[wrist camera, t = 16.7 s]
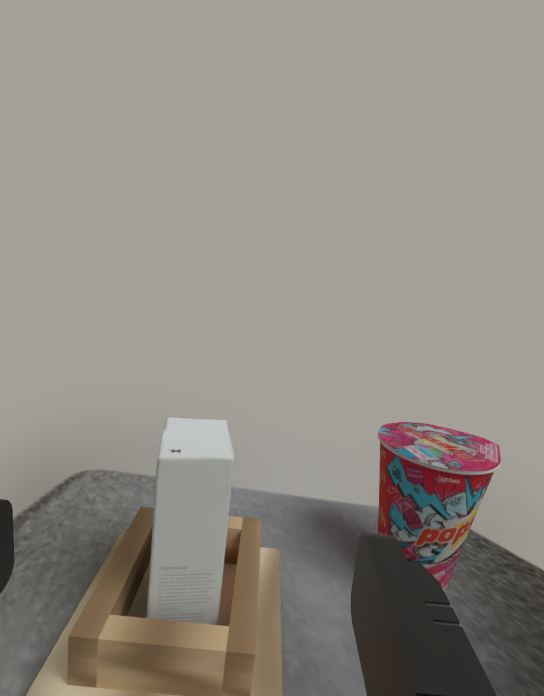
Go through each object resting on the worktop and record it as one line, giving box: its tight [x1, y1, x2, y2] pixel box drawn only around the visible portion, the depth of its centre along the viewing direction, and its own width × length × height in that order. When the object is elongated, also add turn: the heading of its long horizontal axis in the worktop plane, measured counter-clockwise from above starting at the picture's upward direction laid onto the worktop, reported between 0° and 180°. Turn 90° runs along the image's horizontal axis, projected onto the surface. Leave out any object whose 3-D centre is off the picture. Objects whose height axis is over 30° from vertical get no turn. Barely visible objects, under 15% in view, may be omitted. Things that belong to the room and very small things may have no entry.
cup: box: [378, 422, 501, 593], centre depth 32 cm, size 9×8×12 cm
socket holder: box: [26, 507, 283, 696], centre depth 27 cm, size 13×13×4 cm
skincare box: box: [146, 418, 234, 625], centre depth 26 cm, size 6×4×12 cm
